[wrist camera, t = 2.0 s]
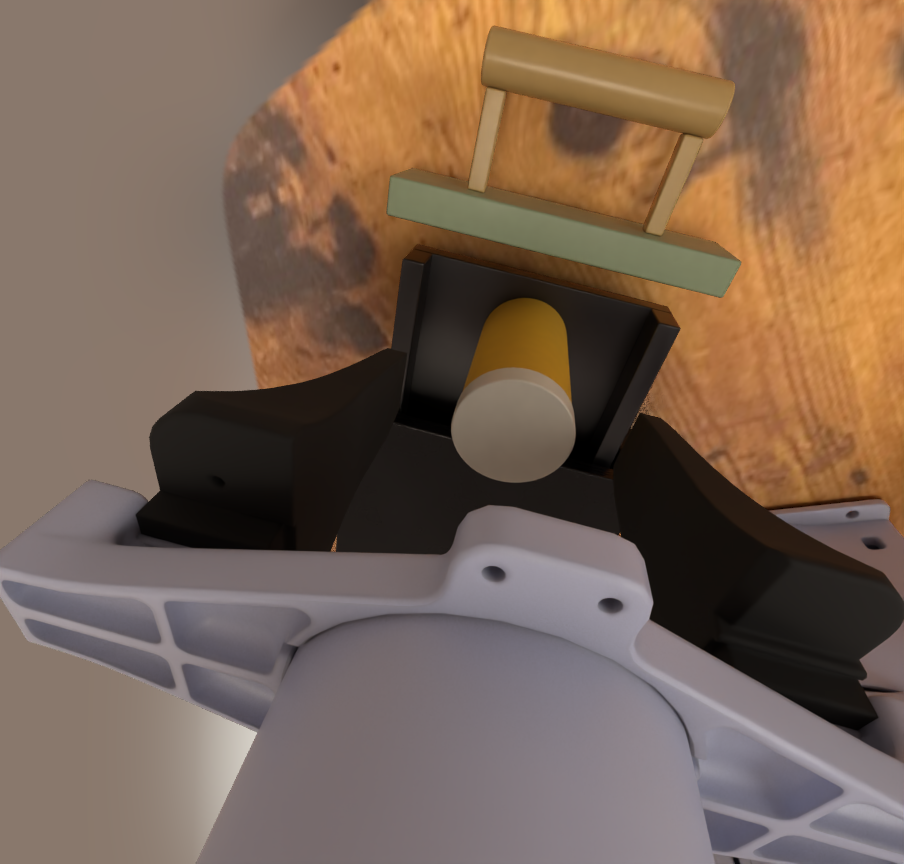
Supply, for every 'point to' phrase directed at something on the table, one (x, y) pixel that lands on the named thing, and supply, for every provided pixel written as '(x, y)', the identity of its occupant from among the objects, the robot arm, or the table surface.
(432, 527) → the cabinet
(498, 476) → the pill bottle
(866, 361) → the table surface
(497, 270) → the drawer
